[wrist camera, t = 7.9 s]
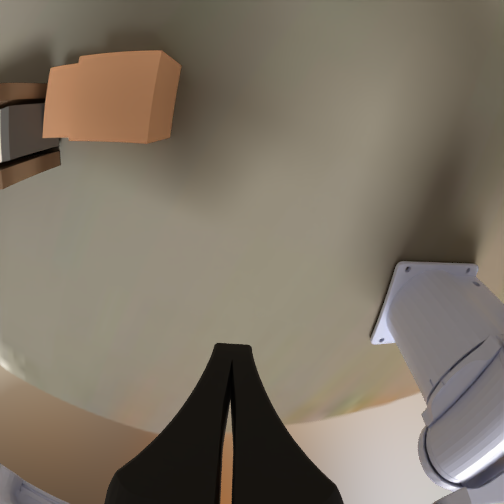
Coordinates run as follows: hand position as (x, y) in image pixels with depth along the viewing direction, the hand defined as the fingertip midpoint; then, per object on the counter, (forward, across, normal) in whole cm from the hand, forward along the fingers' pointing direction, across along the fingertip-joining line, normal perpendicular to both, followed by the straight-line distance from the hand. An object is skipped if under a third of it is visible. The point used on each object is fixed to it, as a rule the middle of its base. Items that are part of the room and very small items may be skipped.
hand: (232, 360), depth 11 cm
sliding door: (+8, +20, -9) cm, 24 cm away
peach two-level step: (+9, +8, -10) cm, 16 cm away
